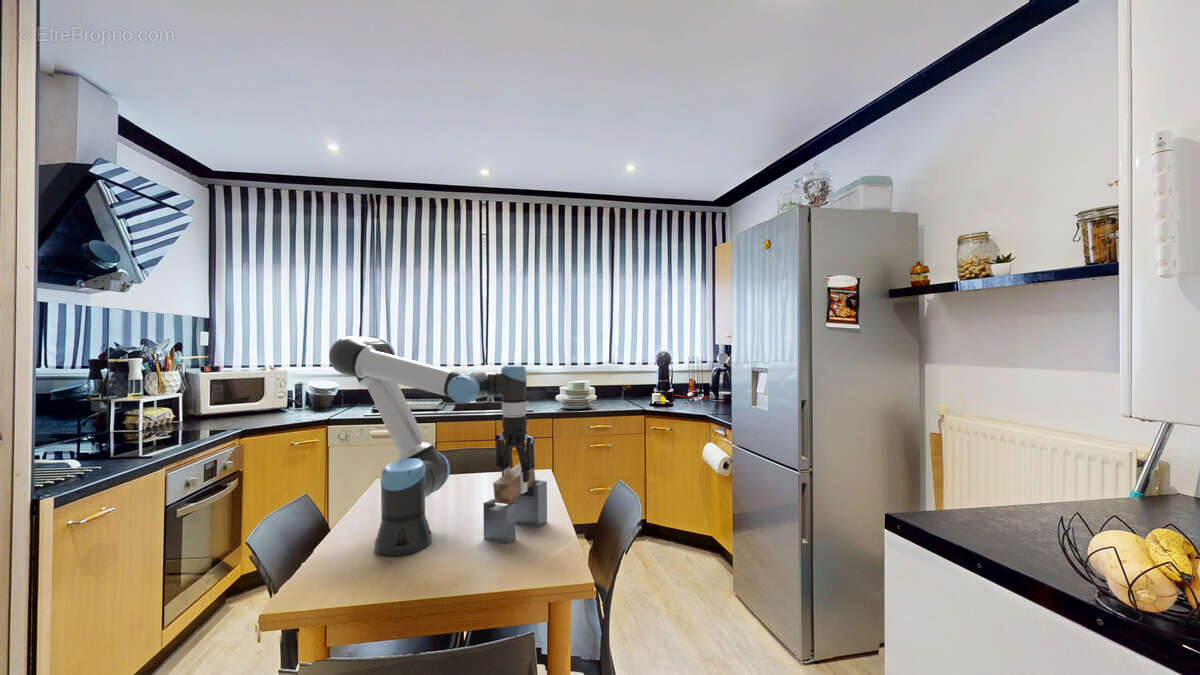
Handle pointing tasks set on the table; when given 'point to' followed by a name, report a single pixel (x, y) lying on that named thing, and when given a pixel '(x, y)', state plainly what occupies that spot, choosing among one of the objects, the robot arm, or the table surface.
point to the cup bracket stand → (516, 513)
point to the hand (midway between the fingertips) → (515, 491)
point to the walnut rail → (510, 485)
